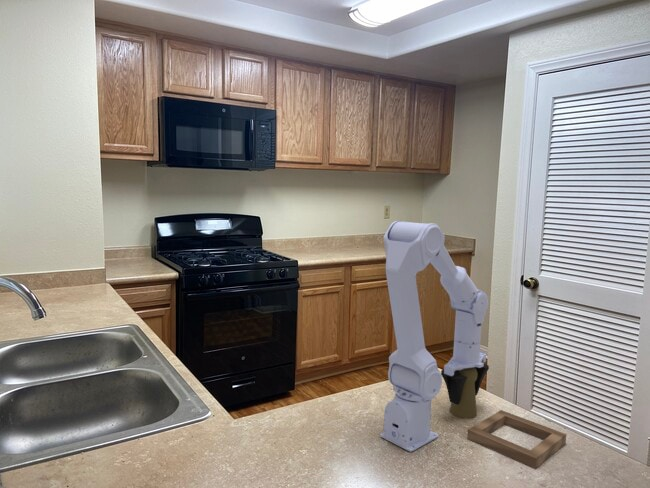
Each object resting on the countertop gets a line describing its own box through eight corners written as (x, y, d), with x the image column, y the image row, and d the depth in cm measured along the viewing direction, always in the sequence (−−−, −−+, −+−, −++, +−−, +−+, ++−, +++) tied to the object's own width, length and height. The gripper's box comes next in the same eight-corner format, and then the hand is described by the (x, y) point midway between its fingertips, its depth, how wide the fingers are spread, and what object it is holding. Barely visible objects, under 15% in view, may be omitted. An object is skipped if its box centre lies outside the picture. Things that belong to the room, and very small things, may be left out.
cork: (478, 420, 106) (481, 372, 105) (450, 417, 107) (453, 369, 106) (475, 408, 112) (478, 363, 111) (448, 405, 113) (451, 360, 112)
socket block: (535, 468, 87) (536, 458, 87) (467, 438, 98) (467, 429, 97) (565, 443, 97) (566, 434, 97) (500, 418, 107) (501, 410, 107)
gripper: (465, 351, 100) (462, 413, 101) (499, 338, 110) (495, 395, 111) (437, 343, 105) (434, 402, 106) (471, 331, 115) (468, 386, 116)
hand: (463, 398), depth 109 cm, fingers open, 7 cm apart
